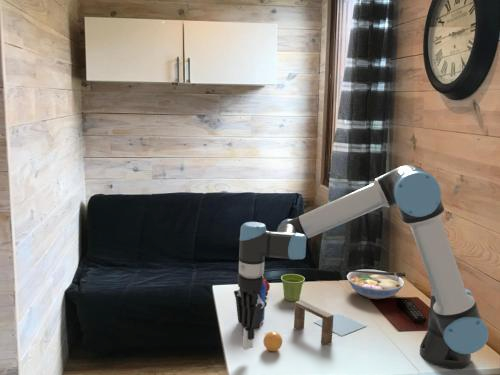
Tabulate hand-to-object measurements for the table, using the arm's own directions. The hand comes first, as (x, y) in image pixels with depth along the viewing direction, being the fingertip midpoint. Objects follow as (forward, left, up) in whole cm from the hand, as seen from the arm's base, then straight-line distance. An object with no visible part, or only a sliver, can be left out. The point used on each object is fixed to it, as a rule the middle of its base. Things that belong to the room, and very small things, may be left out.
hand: (247, 347), depth 160 cm
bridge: (0, -28, -4) cm, 28 cm away
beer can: (+20, -18, -4) cm, 27 cm away
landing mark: (0, -42, -4) cm, 42 cm away
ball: (0, -10, -1) cm, 10 cm away
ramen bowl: (+10, -74, -4) cm, 75 cm away
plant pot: (+27, -44, -4) cm, 52 cm away
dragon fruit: (+37, -35, -4) cm, 51 cm away
